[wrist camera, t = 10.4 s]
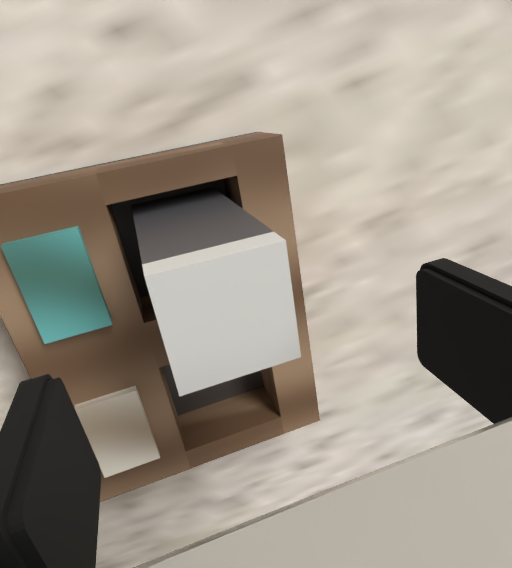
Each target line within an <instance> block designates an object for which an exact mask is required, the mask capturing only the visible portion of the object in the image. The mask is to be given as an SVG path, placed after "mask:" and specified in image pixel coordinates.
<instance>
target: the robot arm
mask: <svg viewBox="0 0 512 568" xmlns="http://www.w3.org/2000/svg"><path fill="white" fill-rule="evenodd" d="M416 297H417V354H418V358H419V360H420V362H421V364H422V365H423V366H424V367H425V368H426V369H427V370H429V371H430V372H431V373H432V374H434V375H435V376H436V377H437V378H438V379H440V380H441V381H442V382H443V383H445V384H446V385H447V386H448V387H449V388H451V389H452V390H453V391H454V392H456V393H457V394H458V395H459V396H460V397H462V398H463V399H464V400H465V401H467V402H468V403H469V404H470V405H472V406H473V407H474V408H475V409H476V410H478V411H479V412H480V413H481V414H483V415H484V416H485V417H486V418H487V419H489V420H490V421H491V422H492V423H494V424H493V425H490V426H488V427H485V428H482V429H480V430H477V431H475V432H472V433H470V434H467V435H464V436H462V437H459V438H457V439H454V440H452V441H449V442H446V443H444V444H441V445H439V446H436V447H434V448H431V449H429V450H426V451H424V452H421V453H418V454H416V455H413V456H411V457H408V458H406V459H403V460H401V461H398V462H396V463H393V464H390V465H388V466H385V467H383V468H380V469H378V470H375V471H373V472H370V473H368V474H365V475H363V476H360V477H358V478H355V479H352V480H350V481H347V482H345V483H342V484H340V485H337V486H335V487H332V488H330V489H327V490H325V491H322V492H320V493H317V494H315V495H312V496H310V497H307V498H305V499H302V500H300V501H297V502H295V503H292V504H290V505H287V506H285V507H282V508H280V509H277V510H275V511H272V512H270V513H267V514H265V515H262V516H260V517H257V518H255V519H252V520H250V521H247V522H245V523H242V524H240V525H237V526H235V527H232V528H230V529H227V530H225V531H222V532H220V533H217V534H215V535H212V536H210V537H207V538H205V539H202V540H200V541H197V542H195V543H192V544H190V545H188V546H185V547H183V548H180V549H178V550H175V551H173V552H170V553H168V554H166V555H163V556H161V557H158V558H156V559H153V560H151V561H149V562H146V563H144V564H141V565H139V566H136V567H134V568H512V286H510V285H507V284H505V283H503V282H500V281H498V280H496V279H493V278H491V277H488V276H486V275H484V274H481V273H479V272H477V271H474V270H472V269H470V268H467V267H465V266H462V265H460V264H458V263H455V262H453V261H451V260H448V259H445V258H442V259H438V260H435V261H431V262H428V263H425V264H423V265H422V266H421V268H420V270H419V271H418V272H417V274H416ZM100 490H101V470H100V466H99V463H98V460H97V458H96V456H95V453H94V451H93V449H92V447H91V444H90V442H89V440H88V438H87V435H86V433H85V431H84V428H83V426H82V424H81V422H80V419H79V417H78V415H77V413H76V410H75V408H74V406H73V403H72V401H71V399H70V397H69V394H68V392H67V390H66V388H65V385H64V383H63V381H62V379H61V378H59V377H58V378H55V379H53V378H52V377H51V376H50V375H49V374H46V375H43V376H39V377H36V378H32V379H29V380H26V381H22V382H21V383H20V384H19V387H18V389H17V392H16V394H15V397H14V399H13V401H12V404H11V406H10V409H9V411H8V414H7V416H6V419H5V421H4V424H3V426H2V429H1V431H0V568H95V564H96V549H97V535H98V520H99V505H100Z"/></svg>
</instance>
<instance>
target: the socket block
mask: <svg viewBox="0 0 512 568" xmlns="http://www.w3.org/2000/svg"><path fill="white" fill-rule="evenodd" d="M210 187H213V188H215V189H216V190H218V191H219V192H220V193H222V194H223V195H224V196H226V197H227V198H229V199H230V200H231V201H233V202H234V203H235V204H237V205H238V206H240V207H241V208H242V209H244V210H245V211H246V212H248V213H249V214H251V215H252V216H253V217H255V218H256V219H257V220H259V221H260V222H261V223H263V224H264V225H266V226H267V227H268V228H270V229H271V230H272V231H274V232H275V233H277V234H278V235H279V236H281V237H282V238H283V239H285V240H286V245H287V253H288V260H289V268H290V276H291V283H292V291H293V298H294V306H295V313H296V321H297V329H298V336H299V344H300V351H301V357H300V358H297V359H294V360H291V361H288V362H285V363H282V364H278V365H275V366H272V367H269V368H266V369H263V370H260V371H257V372H254V373H251V374H248V375H244V376H241V377H238V378H235V379H232V380H229V381H226V382H223V383H220V384H217V385H214V386H210V387H207V388H204V389H201V390H198V391H195V392H192V393H189V394H186V395H183V396H180V397H179V394H178V390H177V387H176V383H175V380H174V376H173V373H172V370H171V366H170V363H169V359H168V356H167V353H166V349H165V346H164V342H163V339H162V335H161V332H160V329H159V325H158V322H157V318H156V315H155V312H154V308H153V305H152V301H151V298H150V295H149V291H148V288H147V284H146V281H145V277H144V272H143V267H142V261H141V256H140V250H139V245H138V239H137V234H136V228H135V223H134V217H133V212H132V206H131V205H132V204H136V203H141V202H145V201H150V200H155V199H159V198H164V197H168V196H173V195H178V194H182V193H187V192H191V191H196V190H201V189H205V188H210ZM0 316H1V318H2V320H3V322H4V324H5V326H6V328H7V330H8V332H9V334H10V336H11V338H12V340H13V342H14V345H15V347H16V349H17V351H18V353H19V355H20V357H21V359H22V361H23V363H24V365H25V367H26V369H27V371H28V373H29V375H30V378H31V379H32V378H36V377H39V376H43V375H46V374H49V375H50V376H51V377H52V378H53V379H55V378H58V377H59V378H61V379H62V381H63V383H64V385H65V388H66V390H67V392H68V394H69V397H70V399H71V401H72V403H73V406H74V408H75V410H76V413H77V415H78V417H79V419H80V422H81V424H82V426H83V428H84V431H85V433H86V435H87V438H88V440H89V442H90V444H91V447H92V449H93V451H94V453H95V456H96V458H97V460H98V463H99V466H100V470H101V490H100V502H102V501H104V500H107V499H110V498H112V497H115V496H118V495H120V494H123V493H126V492H128V491H131V490H134V489H137V488H139V487H142V486H145V485H147V484H150V483H153V482H155V481H158V480H161V479H163V478H166V477H169V476H171V475H174V474H177V473H180V472H182V471H185V470H188V469H190V468H193V467H196V466H198V465H201V464H204V463H206V462H209V461H212V460H215V459H217V458H220V457H223V456H225V455H228V454H231V453H233V452H236V451H239V450H241V449H244V448H247V447H249V446H252V445H255V444H258V443H260V442H263V441H266V440H268V439H271V438H274V437H276V436H279V435H282V434H284V433H287V432H290V431H292V430H295V429H298V428H301V427H303V426H306V425H309V424H311V423H314V422H317V421H319V420H320V419H319V411H318V403H317V396H316V388H315V381H314V373H313V366H312V358H311V350H310V343H309V335H308V328H307V320H306V313H305V305H304V298H303V290H302V282H301V275H300V267H299V260H298V252H297V245H296V237H295V229H294V222H293V214H292V207H291V199H290V192H289V184H288V176H287V169H286V161H285V154H284V146H283V139H282V135H281V134H272V133H263V132H254V133H249V134H244V135H239V136H235V137H230V138H225V139H220V140H215V141H210V142H205V143H201V144H196V145H191V146H186V147H181V148H176V149H171V150H166V151H162V152H157V153H152V154H147V155H142V156H137V157H132V158H128V159H123V160H118V161H113V162H108V163H103V164H98V165H93V166H89V167H84V168H79V169H74V170H69V171H64V172H59V173H55V174H50V175H45V176H40V177H35V178H30V179H25V180H20V181H16V182H11V183H6V184H1V185H0Z"/></svg>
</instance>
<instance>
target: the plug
mask: <svg viewBox="0 0 512 568" xmlns="http://www.w3.org/2000/svg"><path fill="white" fill-rule="evenodd" d="M131 206H132V212H133V217H134V223H135V228H136V234H137V239H138V245H139V250H140V256H141V261H142V267H143V272H144V277H145V281H146V284H147V288H148V291H149V295H150V298H151V301H152V305H153V308H154V312H155V315H156V318H157V322H158V325H159V329H160V332H161V335H162V339H163V342H164V346H165V349H166V353H167V356H168V359H169V363H170V366H171V370H172V373H173V376H174V380H175V383H176V387H177V390H178V394H179V397H180V396H183V395H186V394H189V393H192V392H195V391H198V390H201V389H204V388H207V387H210V386H214V385H217V384H220V383H223V382H226V381H229V380H232V379H235V378H238V377H241V376H244V375H248V374H251V373H254V372H257V371H260V370H263V369H266V368H269V367H272V366H275V365H278V364H282V363H285V362H288V361H291V360H294V359H297V358H300V357H301V351H300V344H299V336H298V329H297V321H296V313H295V306H294V298H293V291H292V283H291V276H290V268H289V260H288V253H287V245H286V240H285V239H283V238H282V237H281V236H279V235H278V234H277V233H275V232H274V231H272V230H271V229H270V228H268V227H267V226H266V225H264V224H263V223H261V222H260V221H259V220H257V219H256V218H255V217H253V216H252V215H251V214H249V213H248V212H246V211H245V210H244V209H242V208H241V207H240V206H238V205H237V204H235V203H234V202H233V201H231V200H230V199H229V198H227V197H226V196H224V195H223V194H222V193H220V192H219V191H218V190H216V189H215V188H213V187H210V188H205V189H201V190H196V191H191V192H187V193H182V194H178V195H173V196H168V197H164V198H159V199H155V200H150V201H145V202H141V203H136V204H132V205H131Z"/></svg>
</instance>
